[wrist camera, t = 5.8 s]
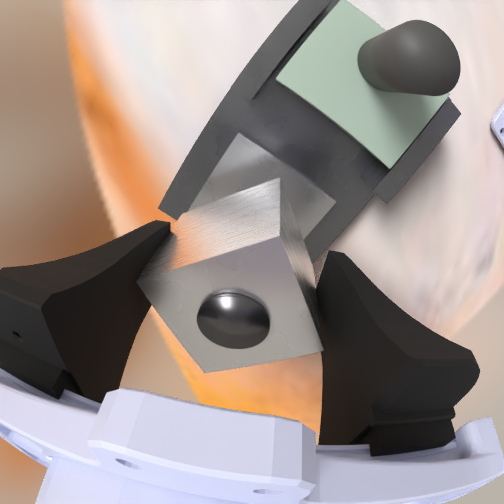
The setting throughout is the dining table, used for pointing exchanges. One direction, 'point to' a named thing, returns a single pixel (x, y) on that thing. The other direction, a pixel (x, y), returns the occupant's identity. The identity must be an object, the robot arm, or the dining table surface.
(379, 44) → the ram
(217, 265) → the block
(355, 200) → the press
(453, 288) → the dining table surface
